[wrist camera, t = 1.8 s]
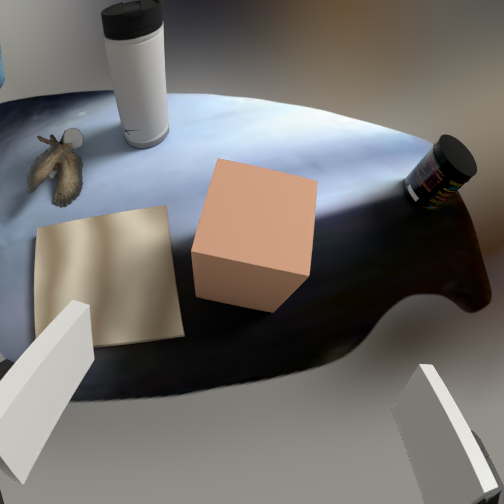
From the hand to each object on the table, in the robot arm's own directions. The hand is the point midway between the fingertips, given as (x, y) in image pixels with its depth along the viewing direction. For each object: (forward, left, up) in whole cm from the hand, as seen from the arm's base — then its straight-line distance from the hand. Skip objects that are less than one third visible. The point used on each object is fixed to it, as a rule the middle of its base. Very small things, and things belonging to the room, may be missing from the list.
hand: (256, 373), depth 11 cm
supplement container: (+32, +17, -20) cm, 42 cm away
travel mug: (-5, +31, -20) cm, 37 cm away
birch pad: (-11, +11, -19) cm, 25 cm away
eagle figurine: (-17, +26, -20) cm, 37 cm away
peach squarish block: (+4, +10, -19) cm, 22 cm away
